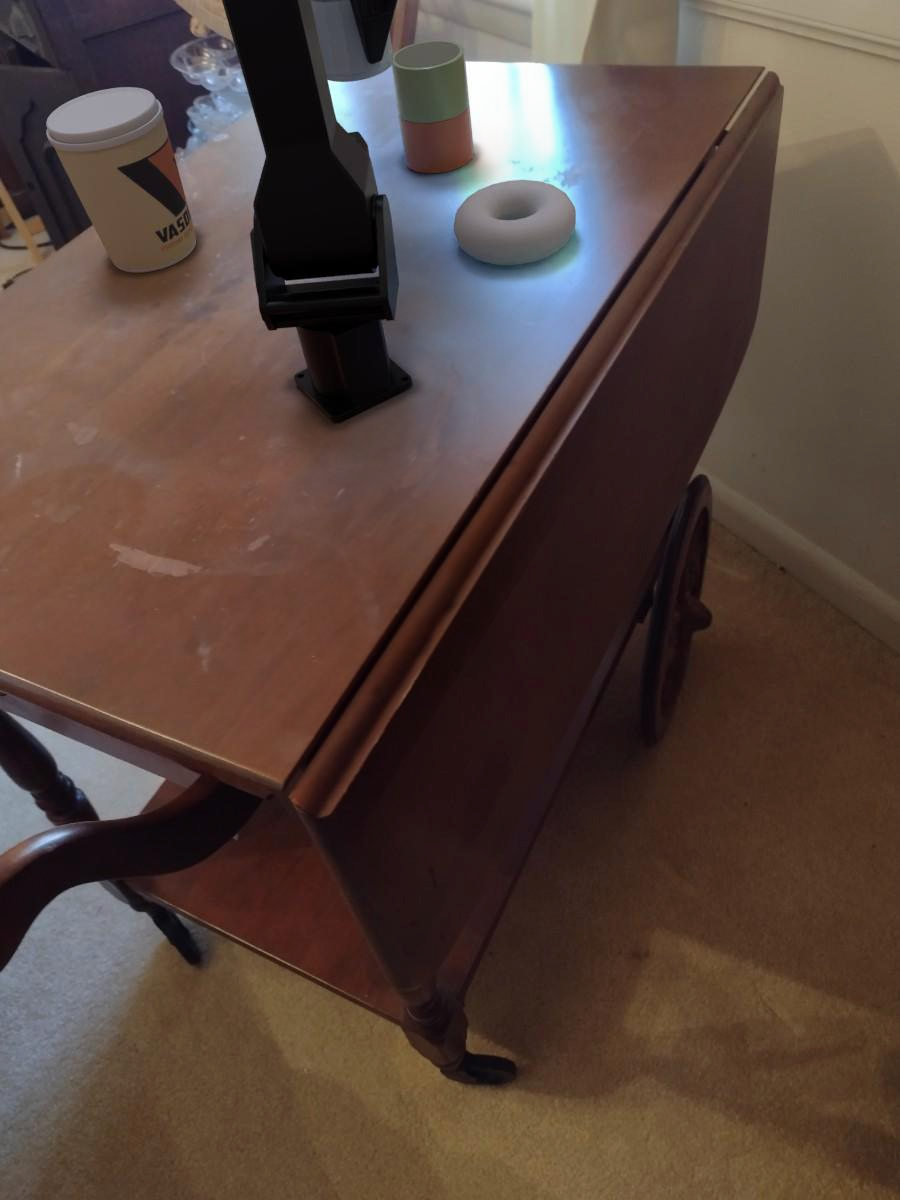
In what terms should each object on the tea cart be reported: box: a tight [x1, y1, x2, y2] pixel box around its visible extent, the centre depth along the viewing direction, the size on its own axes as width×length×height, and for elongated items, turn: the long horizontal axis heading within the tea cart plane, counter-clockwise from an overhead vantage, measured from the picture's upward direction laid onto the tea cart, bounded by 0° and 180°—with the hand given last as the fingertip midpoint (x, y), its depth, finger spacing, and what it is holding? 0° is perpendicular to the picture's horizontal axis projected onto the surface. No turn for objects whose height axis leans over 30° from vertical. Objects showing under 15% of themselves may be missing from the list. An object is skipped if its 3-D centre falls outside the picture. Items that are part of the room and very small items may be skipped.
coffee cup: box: [45, 86, 197, 274], centre depth 77 cm, size 9×9×12 cm
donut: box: [453, 179, 577, 266], centre depth 74 cm, size 10×4×10 cm
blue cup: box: [310, 0, 394, 83], centre depth 71 cm, size 6×6×6 cm
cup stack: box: [390, 39, 475, 174], centre depth 84 cm, size 7×7×9 cm
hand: (354, 51), depth 72 cm, fingers closed on blue cup, 6 cm apart
